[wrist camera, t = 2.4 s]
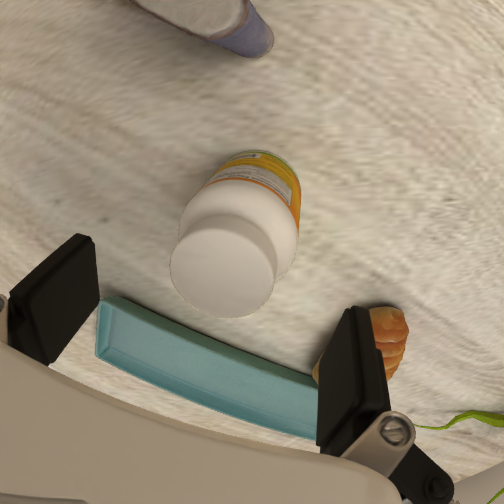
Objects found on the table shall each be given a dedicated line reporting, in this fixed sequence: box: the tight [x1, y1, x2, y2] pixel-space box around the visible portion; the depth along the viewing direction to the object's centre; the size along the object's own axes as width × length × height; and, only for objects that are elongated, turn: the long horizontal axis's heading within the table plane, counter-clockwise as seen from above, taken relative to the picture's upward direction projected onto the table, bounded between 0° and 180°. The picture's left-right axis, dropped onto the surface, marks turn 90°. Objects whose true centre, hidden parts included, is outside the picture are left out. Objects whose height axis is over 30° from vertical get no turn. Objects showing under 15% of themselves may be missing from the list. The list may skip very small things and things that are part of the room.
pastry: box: [312, 307, 409, 385], centre depth 23 cm, size 9×7×4 cm
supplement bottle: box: [169, 150, 301, 318], centre depth 16 cm, size 5×5×10 cm
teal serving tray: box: [95, 296, 318, 441], centre depth 28 cm, size 26×9×2 cm, turn 66°
